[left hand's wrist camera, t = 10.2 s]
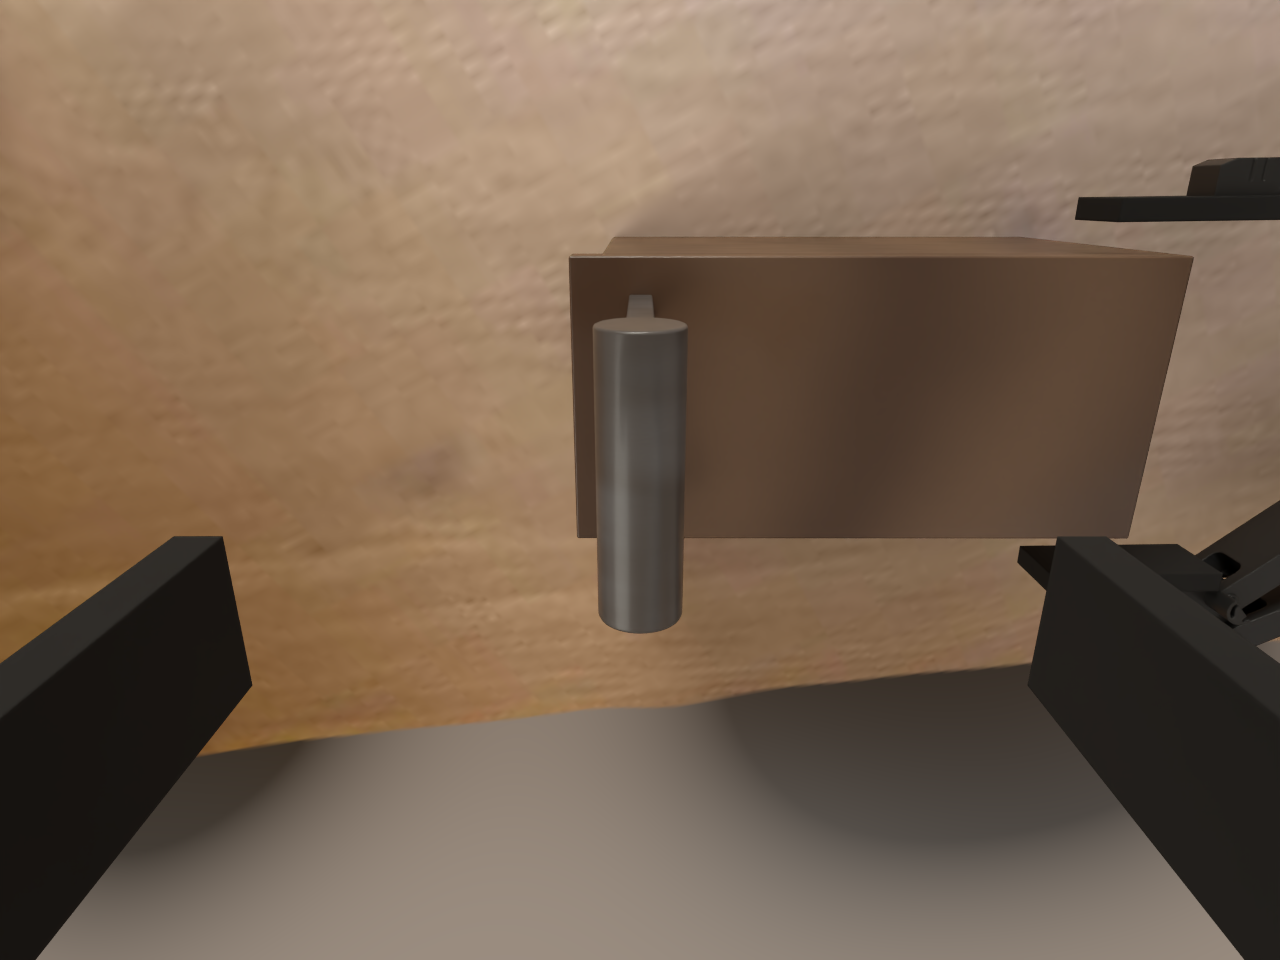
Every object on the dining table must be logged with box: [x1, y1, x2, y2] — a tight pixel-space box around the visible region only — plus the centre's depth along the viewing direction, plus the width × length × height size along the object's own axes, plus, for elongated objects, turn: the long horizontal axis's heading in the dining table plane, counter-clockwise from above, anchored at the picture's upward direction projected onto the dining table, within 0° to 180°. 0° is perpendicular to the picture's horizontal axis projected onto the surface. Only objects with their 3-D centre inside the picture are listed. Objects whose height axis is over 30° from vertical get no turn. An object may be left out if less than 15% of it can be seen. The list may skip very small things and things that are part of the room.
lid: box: [569, 254, 1193, 633], centre depth 21 cm, size 18×9×9 cm, turn 90°
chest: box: [603, 237, 1168, 254], centre depth 30 cm, size 18×9×10 cm, turn 90°
